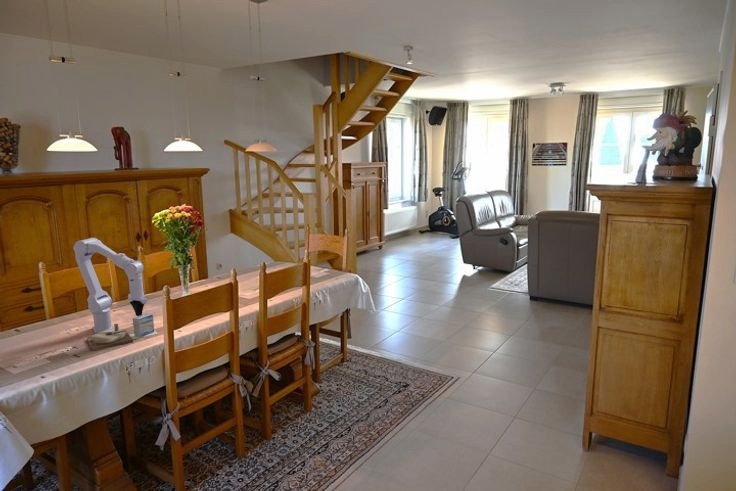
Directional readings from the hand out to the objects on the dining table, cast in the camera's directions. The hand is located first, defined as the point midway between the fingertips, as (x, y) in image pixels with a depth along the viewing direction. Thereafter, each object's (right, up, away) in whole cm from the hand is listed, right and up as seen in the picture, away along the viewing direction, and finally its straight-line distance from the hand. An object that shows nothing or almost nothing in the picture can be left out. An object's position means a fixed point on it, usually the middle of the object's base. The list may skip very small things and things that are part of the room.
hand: (139, 315), depth 231 cm
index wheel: (-9, -9, -10) cm, 16 cm away
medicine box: (+4, -8, -2) cm, 9 cm away
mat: (+3, -8, -3) cm, 9 cm away
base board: (-9, -10, -10) cm, 17 cm away
